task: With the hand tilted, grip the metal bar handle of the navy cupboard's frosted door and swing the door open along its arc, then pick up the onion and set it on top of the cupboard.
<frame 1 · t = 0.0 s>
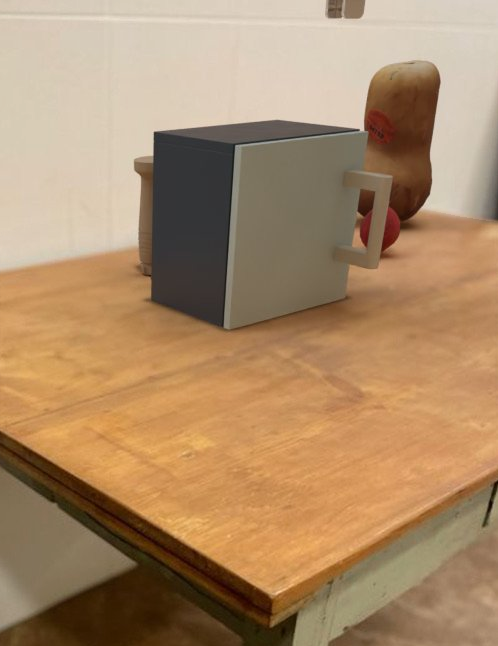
hand: (342, 18, 79), 31 cm above the table, tool pointing down, fingers open, 8 cm apart
handle: (151, 274, 116), on the table
door: (314, 237, 91), point 10 cm above the table, hinge at 0.0°
butternut squash: (383, 225, 143), on the table
cupboard: (244, 304, 103), on the table
onion: (375, 256, 124), on the table
reusable coffee cup: (225, 259, 123), on the table
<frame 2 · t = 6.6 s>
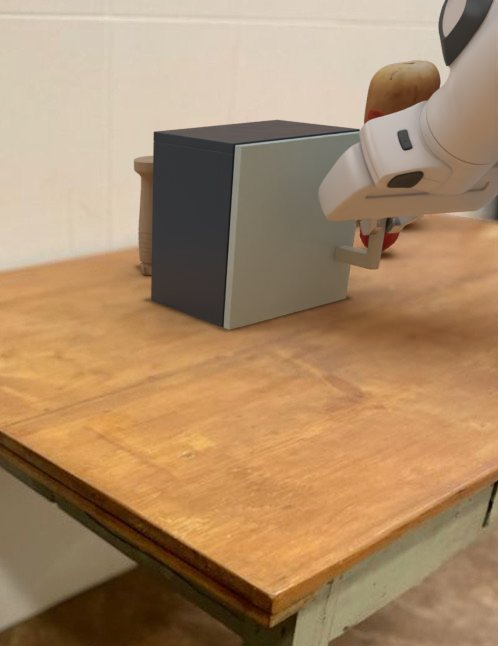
hand: (378, 228, 93), 10 cm above the table, tool tilted 45°, fingers closed, pressing on door
door: (315, 237, 91), point 10 cm above the table, hinge at 0.4°, touching gripper
everything else where it was.
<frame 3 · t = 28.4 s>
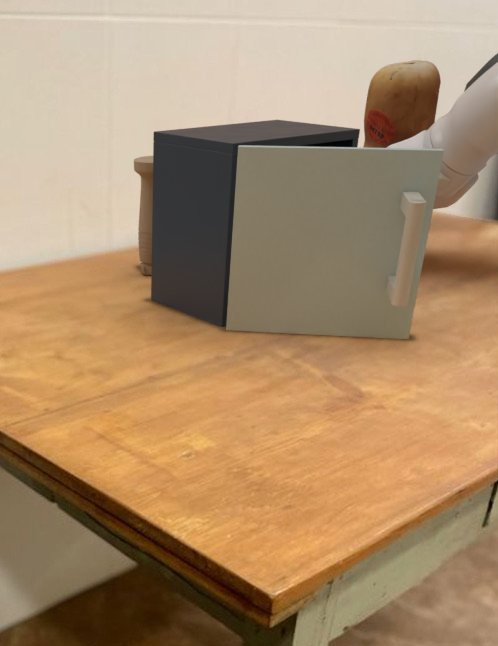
hand: (377, 223, 122), 4 cm above the table, tool tilted 45°, fingers closed on onion, 5 cm apart
door: (327, 255, 84), point 10 cm above the table, hinge at 46.4°
onion: (375, 255, 124), on the table, touching gripper
everything else where it was.
when the fingers open (24 cm above the table, at t = 40.3 s): onion stays where it is, resting on cupboard.
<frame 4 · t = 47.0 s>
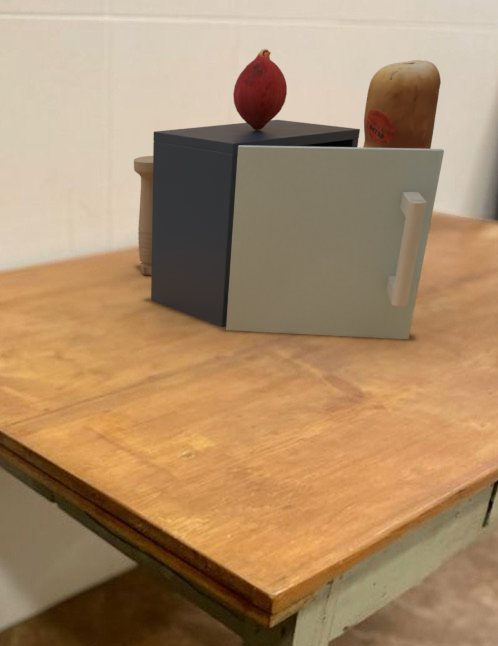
onion: (256, 132, 93), point 20 cm above the table, touching cupboard
everything else where it was.
at the end: door at +46° (first picture: +0°); onion inside the target area on the cupboard (0.1 cm from its centre), point 19.8 cm above the cupboard's base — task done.
